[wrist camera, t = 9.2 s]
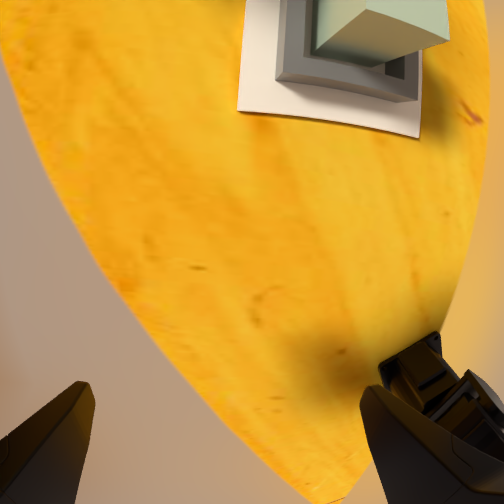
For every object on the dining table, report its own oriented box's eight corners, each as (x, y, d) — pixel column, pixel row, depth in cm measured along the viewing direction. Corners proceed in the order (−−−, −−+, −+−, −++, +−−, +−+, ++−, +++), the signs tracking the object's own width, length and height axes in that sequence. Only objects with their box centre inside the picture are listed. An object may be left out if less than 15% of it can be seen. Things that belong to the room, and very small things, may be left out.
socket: (415, -9, 14) (436, -21, 11) (415, 137, 18) (440, 139, 16) (251, -50, 13) (255, -72, 10) (237, 110, 17) (239, 105, 14)
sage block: (371, 15, 15) (441, -29, 7) (371, 67, 16) (449, 40, 9) (312, 1, 14) (361, -62, 7) (310, 54, 16) (366, 8, 8)
